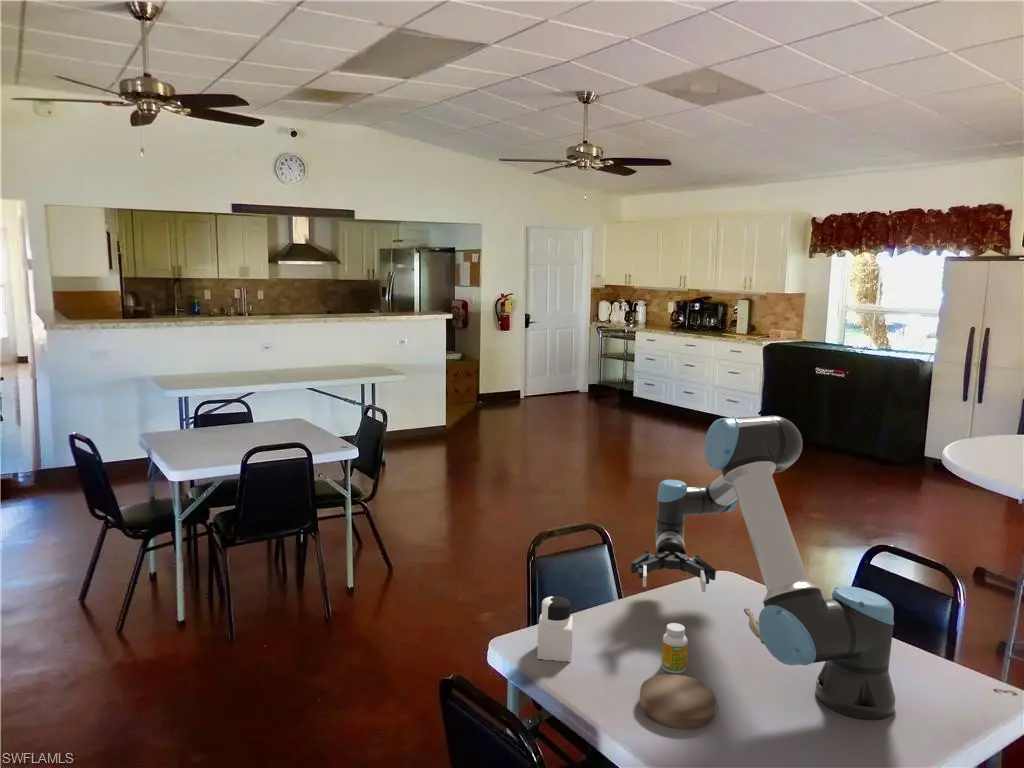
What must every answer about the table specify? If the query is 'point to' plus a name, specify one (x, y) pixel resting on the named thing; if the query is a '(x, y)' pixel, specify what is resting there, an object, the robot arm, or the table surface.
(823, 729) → the table surface
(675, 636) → the supplement bottle
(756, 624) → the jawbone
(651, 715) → the walnut base
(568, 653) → the container
